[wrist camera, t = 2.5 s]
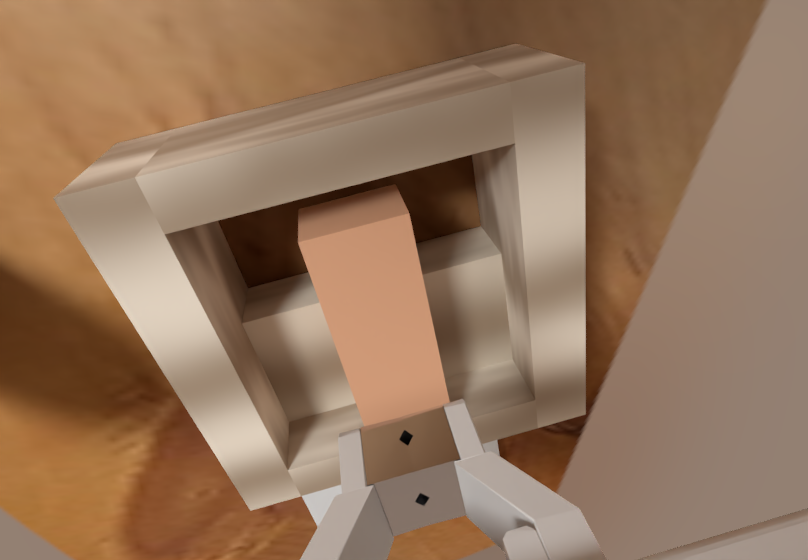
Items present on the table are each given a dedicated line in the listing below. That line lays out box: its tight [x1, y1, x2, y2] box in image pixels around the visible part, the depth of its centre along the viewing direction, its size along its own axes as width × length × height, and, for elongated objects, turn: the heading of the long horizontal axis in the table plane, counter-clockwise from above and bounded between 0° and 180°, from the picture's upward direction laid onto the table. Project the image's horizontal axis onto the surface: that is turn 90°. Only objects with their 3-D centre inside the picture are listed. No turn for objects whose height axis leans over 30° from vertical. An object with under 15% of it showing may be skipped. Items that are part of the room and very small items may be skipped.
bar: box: [298, 184, 450, 426], centre depth 21 cm, size 10×4×3 cm, turn 12°
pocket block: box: [53, 44, 586, 511], centre depth 22 cm, size 16×17×6 cm
